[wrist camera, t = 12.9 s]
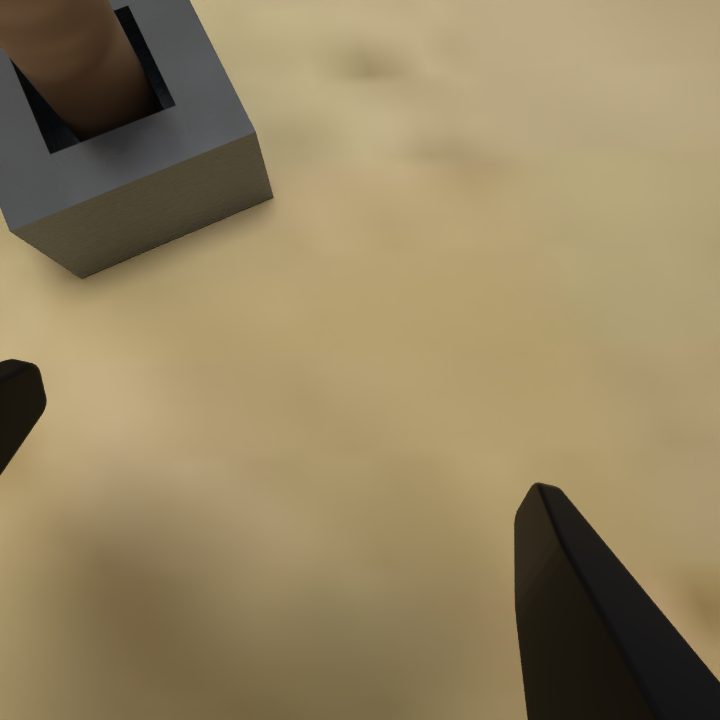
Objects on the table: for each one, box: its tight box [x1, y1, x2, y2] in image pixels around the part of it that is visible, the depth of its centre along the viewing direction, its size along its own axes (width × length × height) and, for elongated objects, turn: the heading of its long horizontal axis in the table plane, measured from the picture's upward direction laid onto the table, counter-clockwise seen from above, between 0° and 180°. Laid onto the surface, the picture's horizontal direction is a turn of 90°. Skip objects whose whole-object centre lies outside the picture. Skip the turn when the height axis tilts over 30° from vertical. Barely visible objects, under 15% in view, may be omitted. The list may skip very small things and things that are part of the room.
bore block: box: [0, 0, 273, 279], centre depth 22 cm, size 10×10×5 cm
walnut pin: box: [0, 0, 164, 142], centre depth 17 cm, size 4×4×13 cm
